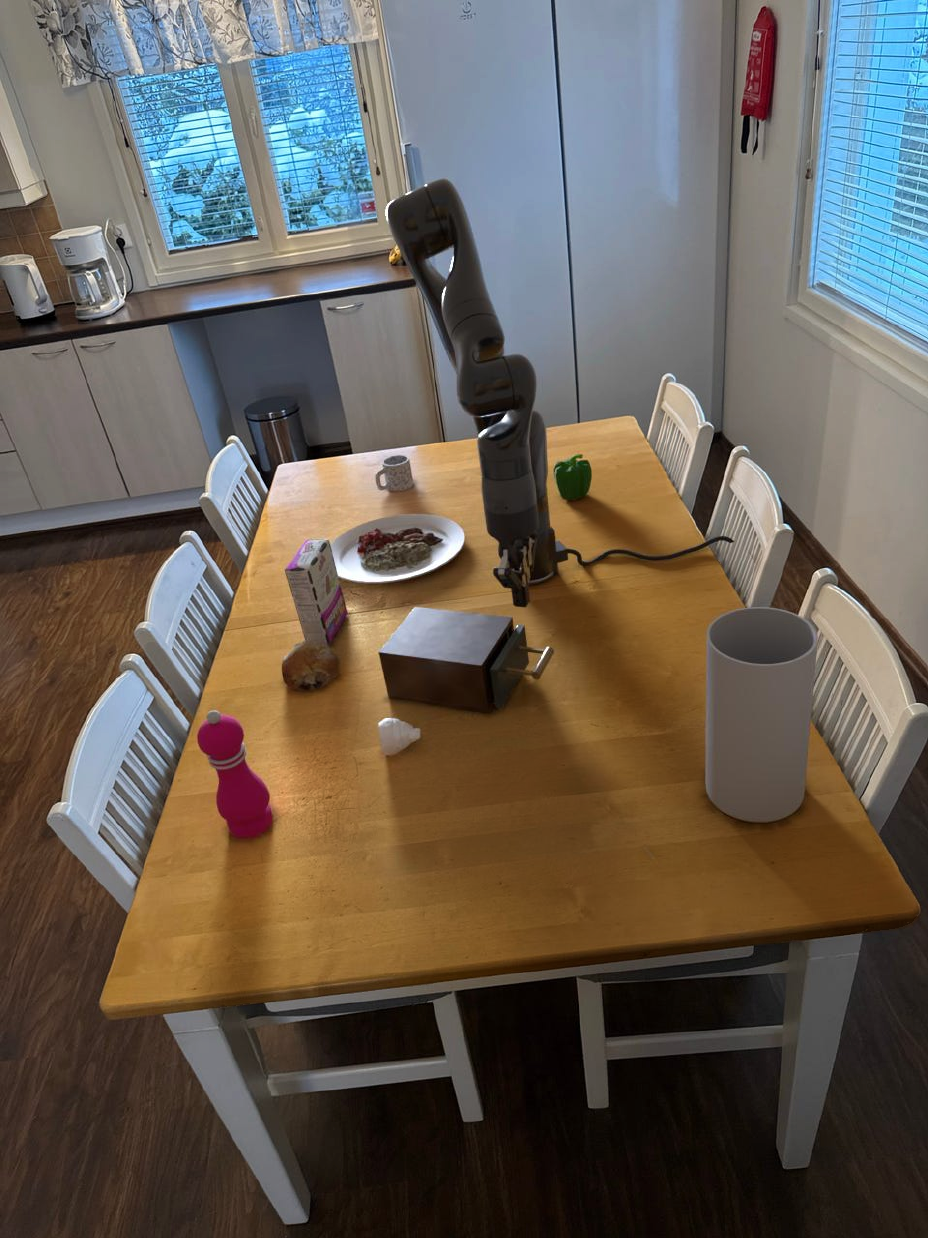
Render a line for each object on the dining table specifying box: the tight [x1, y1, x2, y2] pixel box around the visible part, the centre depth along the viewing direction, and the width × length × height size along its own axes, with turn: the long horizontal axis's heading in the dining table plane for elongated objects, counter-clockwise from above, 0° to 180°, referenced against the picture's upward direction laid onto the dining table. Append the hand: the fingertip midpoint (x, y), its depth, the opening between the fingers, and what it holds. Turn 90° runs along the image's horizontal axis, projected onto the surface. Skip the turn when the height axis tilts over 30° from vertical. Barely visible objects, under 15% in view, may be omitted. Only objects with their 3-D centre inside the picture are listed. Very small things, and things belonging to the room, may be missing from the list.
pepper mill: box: [196, 709, 274, 840], centre depth 123 cm, size 7×7×20 cm
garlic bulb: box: [378, 717, 422, 756], centre depth 137 cm, size 6×6×5 cm
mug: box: [374, 454, 414, 492], centre depth 221 cm, size 10×7×7 cm, turn 133°
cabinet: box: [378, 606, 515, 715], centre depth 149 cm, size 18×14×9 cm
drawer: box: [484, 624, 555, 709], centre depth 146 cm, size 22×13×7 cm, turn 67°
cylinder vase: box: [704, 606, 819, 824], centre depth 114 cm, size 12×12×25 cm
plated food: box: [330, 513, 466, 584], centre depth 192 cm, size 30×30×3 cm
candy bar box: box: [284, 538, 349, 646], centre depth 166 cm, size 11×5×16 cm, turn 168°
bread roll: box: [281, 640, 340, 692], centre depth 157 cm, size 10×10×8 cm
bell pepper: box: [553, 453, 593, 501], centre depth 202 cm, size 8×8×10 cm
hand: (522, 604), depth 137 cm, fingers closed
